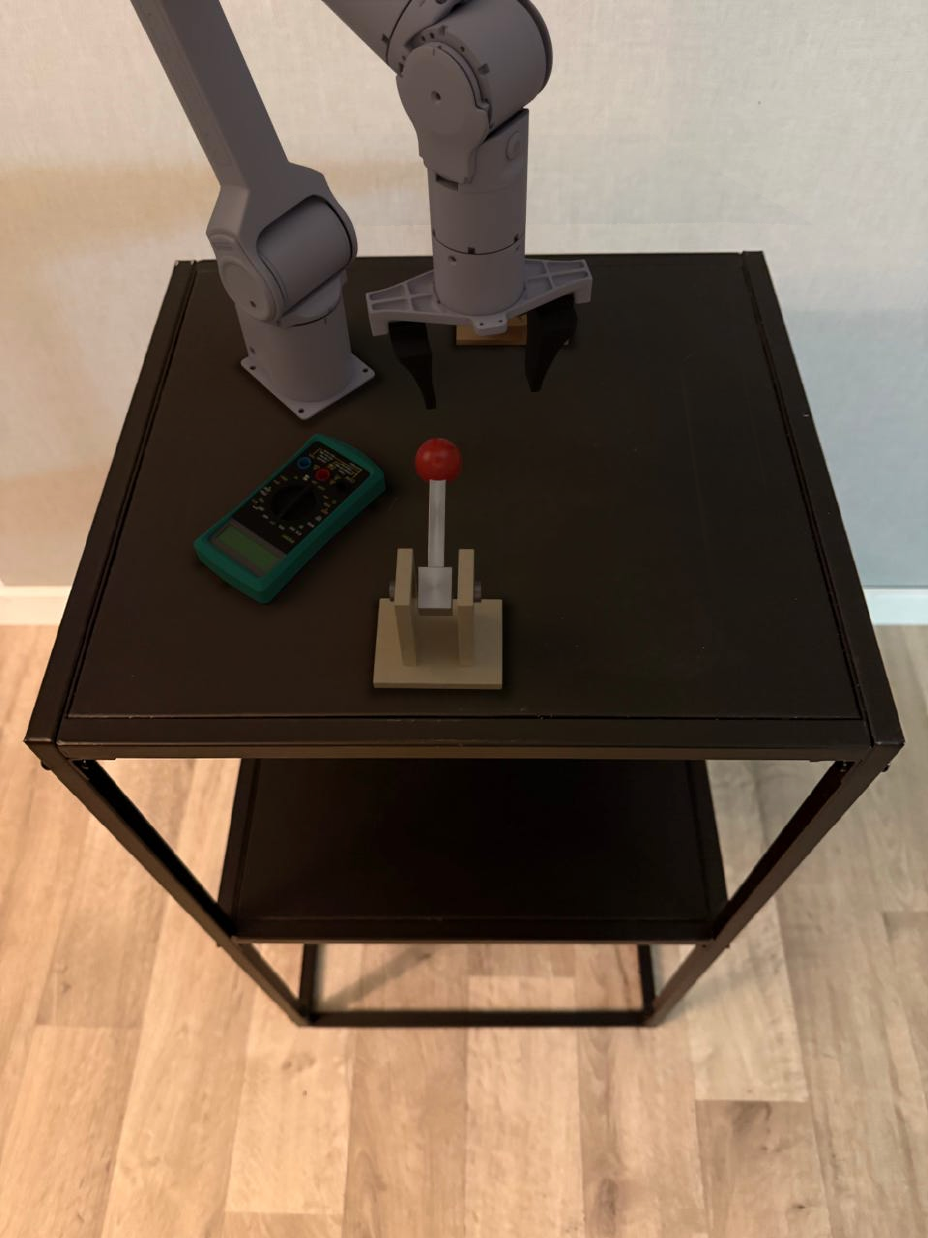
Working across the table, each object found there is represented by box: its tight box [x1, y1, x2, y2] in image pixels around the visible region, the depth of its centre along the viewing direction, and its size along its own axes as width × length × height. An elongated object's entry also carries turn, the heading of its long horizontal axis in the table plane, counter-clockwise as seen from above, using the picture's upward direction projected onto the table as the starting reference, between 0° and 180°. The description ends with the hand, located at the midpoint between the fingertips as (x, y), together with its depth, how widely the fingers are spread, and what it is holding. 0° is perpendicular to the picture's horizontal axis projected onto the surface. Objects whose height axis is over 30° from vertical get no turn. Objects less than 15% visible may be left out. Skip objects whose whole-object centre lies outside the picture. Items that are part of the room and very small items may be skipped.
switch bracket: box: [372, 548, 503, 690], centre depth 64 cm, size 7×9×9 cm
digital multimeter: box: [193, 433, 386, 605], centre depth 73 cm, size 7×15×3 cm, turn 142°
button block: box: [455, 313, 570, 346], centre depth 85 cm, size 10×6×2 cm, turn 89°
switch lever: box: [414, 437, 463, 616], centre depth 63 cm, size 12×3×3 cm, turn 179°
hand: (481, 390), depth 68 cm, fingers open, 7 cm apart
